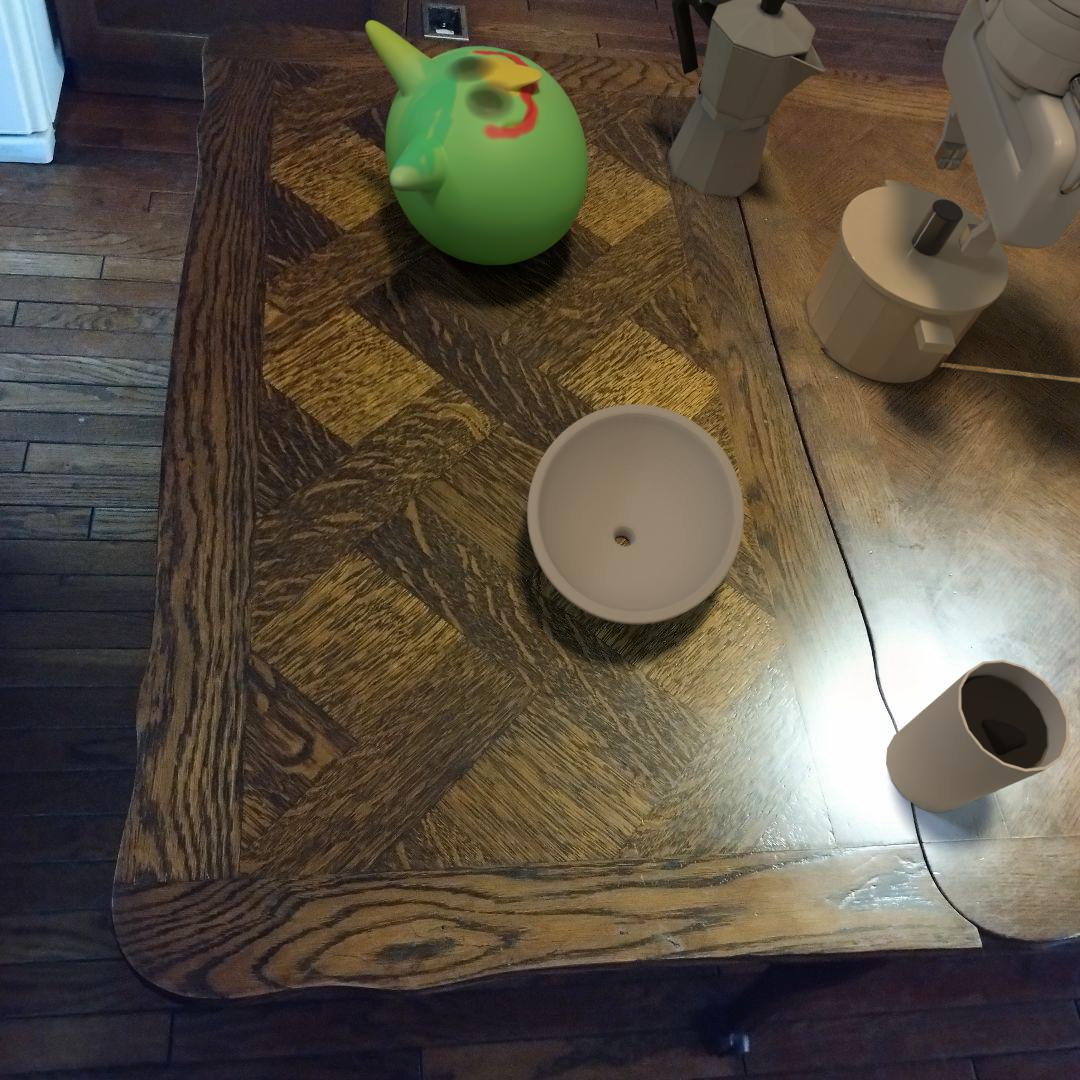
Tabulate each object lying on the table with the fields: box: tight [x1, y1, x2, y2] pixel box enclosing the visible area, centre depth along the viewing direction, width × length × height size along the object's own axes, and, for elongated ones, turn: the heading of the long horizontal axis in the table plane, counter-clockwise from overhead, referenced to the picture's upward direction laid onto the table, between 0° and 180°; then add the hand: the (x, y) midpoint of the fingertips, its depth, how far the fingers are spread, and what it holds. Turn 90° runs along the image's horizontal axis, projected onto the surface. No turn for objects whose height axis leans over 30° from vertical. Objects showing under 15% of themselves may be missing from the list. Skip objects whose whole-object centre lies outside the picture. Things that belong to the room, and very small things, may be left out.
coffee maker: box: [666, 0, 827, 198], centre depth 84 cm, size 15×9×18 cm, turn 49°
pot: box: [805, 179, 985, 384], centre depth 81 cm, size 13×18×8 cm
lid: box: [838, 186, 1010, 316], centre depth 76 cm, size 14×14×5 cm
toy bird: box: [364, 19, 589, 266], centre depth 77 cm, size 18×17×15 cm
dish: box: [526, 403, 745, 626], centre depth 67 cm, size 18×14×5 cm
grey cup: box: [885, 659, 1071, 813], centre depth 60 cm, size 7×7×10 cm
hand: (956, 205), depth 73 cm, fingers open, 8 cm apart
